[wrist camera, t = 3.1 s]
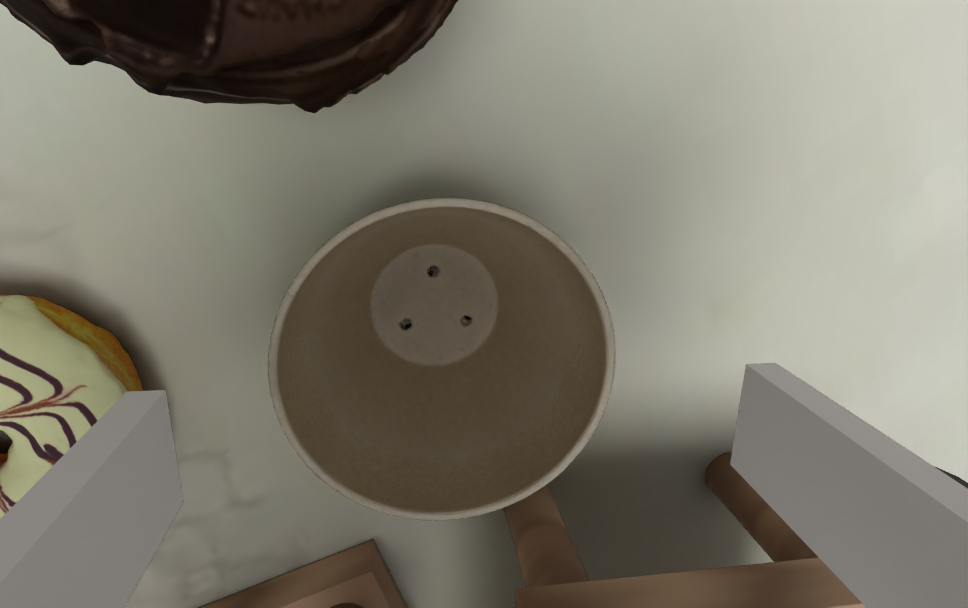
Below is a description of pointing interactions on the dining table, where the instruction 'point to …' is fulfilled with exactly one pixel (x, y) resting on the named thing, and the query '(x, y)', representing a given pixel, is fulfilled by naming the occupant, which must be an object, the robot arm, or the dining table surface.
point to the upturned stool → (326, 585)
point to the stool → (680, 595)
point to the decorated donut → (52, 386)
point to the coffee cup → (240, 43)
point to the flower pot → (441, 359)
